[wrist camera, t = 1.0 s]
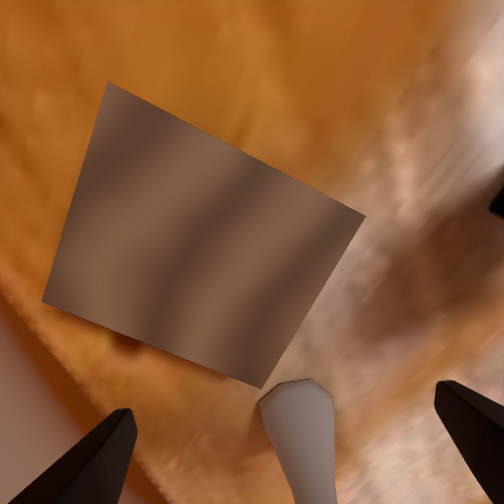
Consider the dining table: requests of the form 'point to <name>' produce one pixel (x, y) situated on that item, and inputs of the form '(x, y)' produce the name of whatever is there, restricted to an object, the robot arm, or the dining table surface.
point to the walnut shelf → (193, 242)
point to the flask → (303, 438)
